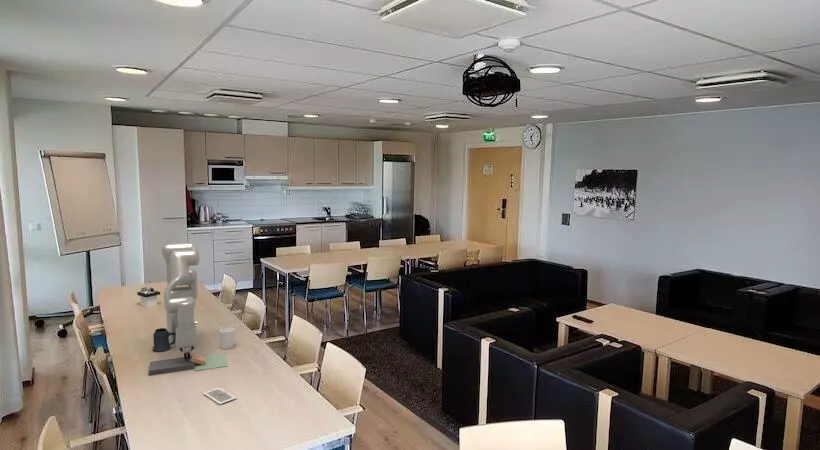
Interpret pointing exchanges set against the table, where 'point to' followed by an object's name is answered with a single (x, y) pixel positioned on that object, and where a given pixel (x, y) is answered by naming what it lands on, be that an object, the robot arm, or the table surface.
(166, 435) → the table surface
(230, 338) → the white cup
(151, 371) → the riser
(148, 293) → the black-topped pedestal
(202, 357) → the terracotta tile
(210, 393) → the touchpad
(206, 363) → the mat
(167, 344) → the mug
